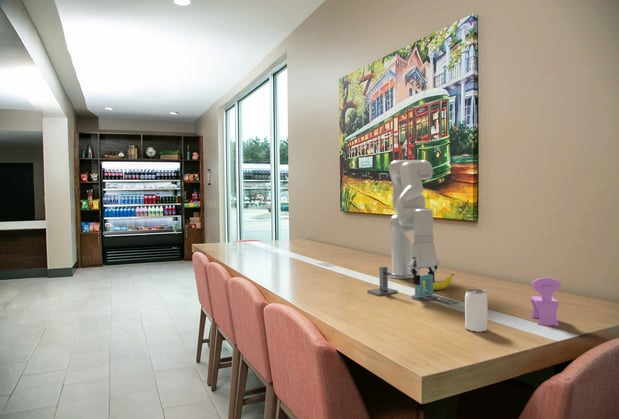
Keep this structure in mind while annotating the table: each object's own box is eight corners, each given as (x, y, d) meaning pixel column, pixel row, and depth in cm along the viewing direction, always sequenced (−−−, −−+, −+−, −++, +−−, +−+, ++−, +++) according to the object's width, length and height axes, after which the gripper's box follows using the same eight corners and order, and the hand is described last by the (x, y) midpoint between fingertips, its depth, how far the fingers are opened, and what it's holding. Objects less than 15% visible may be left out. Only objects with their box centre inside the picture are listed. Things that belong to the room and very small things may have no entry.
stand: (385, 289, 196) (385, 264, 196) (413, 297, 180) (413, 270, 180) (367, 292, 191) (366, 266, 191) (394, 300, 176) (393, 272, 175)
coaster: (424, 294, 186) (424, 293, 186) (442, 298, 177) (442, 297, 177) (406, 297, 181) (406, 296, 181) (423, 302, 172) (423, 301, 172)
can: (461, 326, 141) (461, 289, 140) (481, 325, 141) (481, 288, 141) (470, 333, 134) (470, 293, 134) (491, 332, 135) (491, 292, 134)
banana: (415, 291, 191) (415, 277, 191) (451, 287, 198) (451, 273, 197) (419, 293, 188) (418, 278, 188) (455, 288, 195) (455, 274, 195)
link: (428, 293, 182) (427, 273, 182) (433, 294, 180) (433, 274, 179) (415, 295, 179) (414, 275, 179) (420, 296, 176) (420, 276, 176)
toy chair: (554, 318, 148) (554, 273, 147) (563, 326, 139) (563, 278, 139) (527, 317, 150) (527, 273, 149) (534, 324, 141) (534, 278, 140)
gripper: (432, 237, 186) (433, 279, 186) (400, 240, 177) (401, 284, 178) (446, 238, 179) (446, 282, 180) (413, 241, 171) (413, 287, 172)
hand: (424, 283), depth 179 cm, fingers closed on link, 7 cm apart
